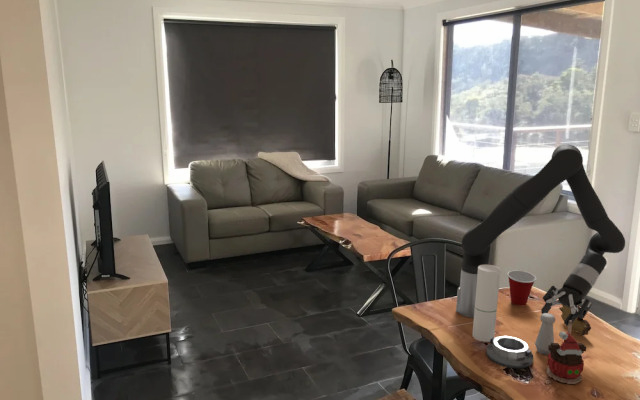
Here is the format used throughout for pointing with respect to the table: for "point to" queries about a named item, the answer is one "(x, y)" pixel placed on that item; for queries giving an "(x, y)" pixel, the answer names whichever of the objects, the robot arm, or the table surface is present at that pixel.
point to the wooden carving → (576, 321)
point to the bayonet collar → (509, 352)
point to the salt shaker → (545, 333)
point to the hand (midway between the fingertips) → (554, 319)
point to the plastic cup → (520, 286)
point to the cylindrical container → (486, 302)
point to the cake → (566, 359)
